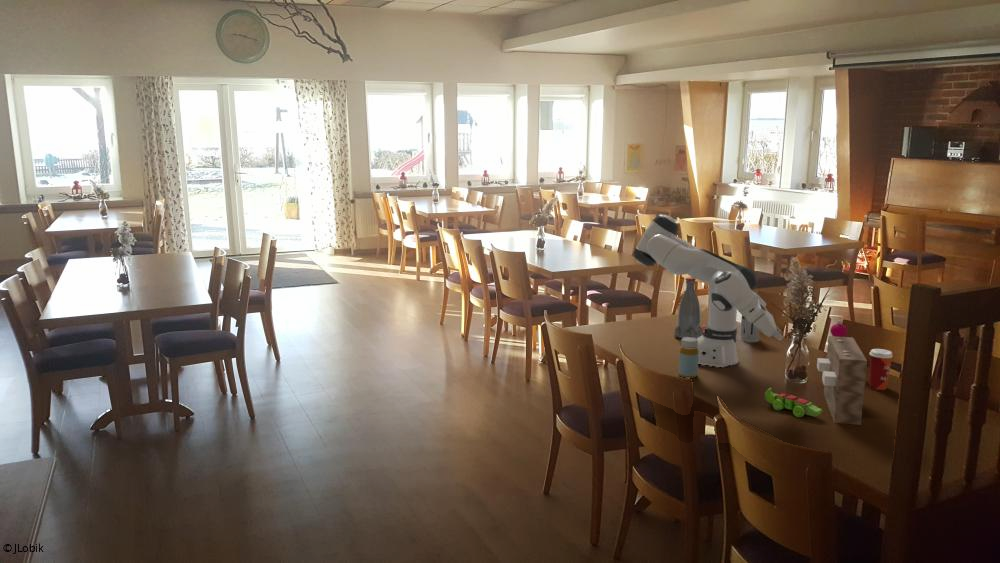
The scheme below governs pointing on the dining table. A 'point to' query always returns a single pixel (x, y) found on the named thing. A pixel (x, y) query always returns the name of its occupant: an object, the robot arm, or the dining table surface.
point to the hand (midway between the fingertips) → (780, 336)
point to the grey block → (823, 364)
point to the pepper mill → (838, 330)
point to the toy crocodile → (792, 404)
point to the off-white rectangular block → (829, 378)
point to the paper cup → (879, 368)
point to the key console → (846, 380)
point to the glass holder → (748, 331)
